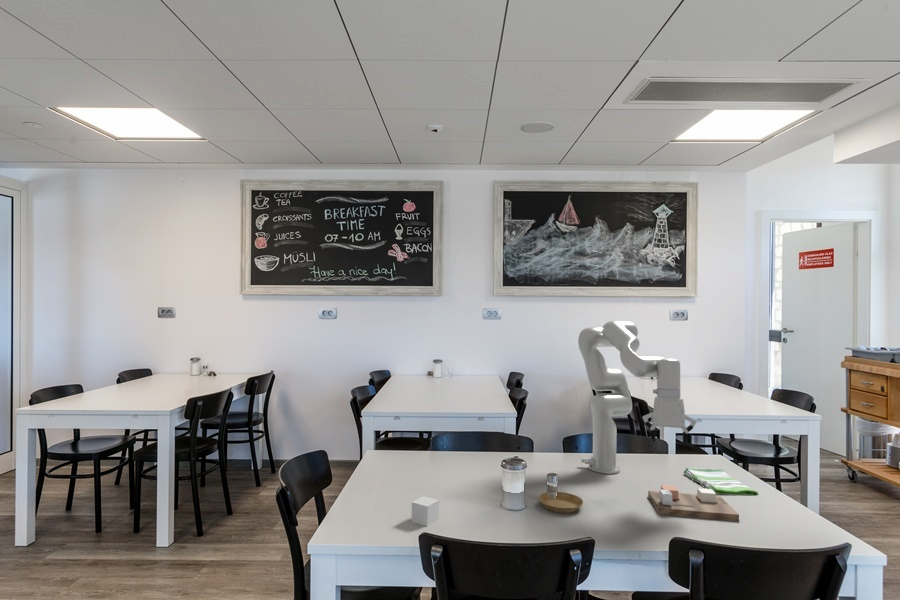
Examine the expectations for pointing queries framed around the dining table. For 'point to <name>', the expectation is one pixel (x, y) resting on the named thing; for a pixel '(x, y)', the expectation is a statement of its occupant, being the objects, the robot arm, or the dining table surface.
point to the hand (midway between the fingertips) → (668, 442)
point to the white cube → (425, 511)
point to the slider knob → (665, 497)
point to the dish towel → (718, 481)
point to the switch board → (694, 507)
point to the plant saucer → (561, 502)
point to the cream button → (706, 495)
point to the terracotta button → (672, 490)
